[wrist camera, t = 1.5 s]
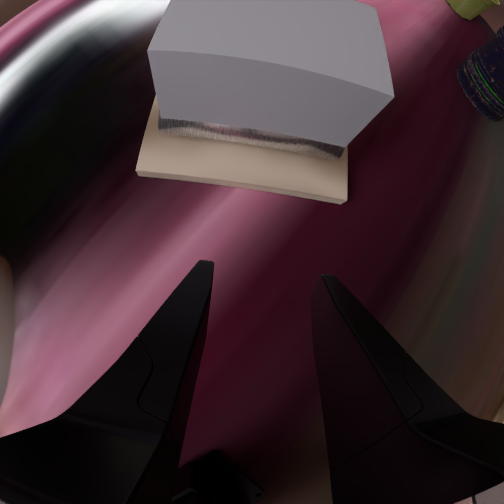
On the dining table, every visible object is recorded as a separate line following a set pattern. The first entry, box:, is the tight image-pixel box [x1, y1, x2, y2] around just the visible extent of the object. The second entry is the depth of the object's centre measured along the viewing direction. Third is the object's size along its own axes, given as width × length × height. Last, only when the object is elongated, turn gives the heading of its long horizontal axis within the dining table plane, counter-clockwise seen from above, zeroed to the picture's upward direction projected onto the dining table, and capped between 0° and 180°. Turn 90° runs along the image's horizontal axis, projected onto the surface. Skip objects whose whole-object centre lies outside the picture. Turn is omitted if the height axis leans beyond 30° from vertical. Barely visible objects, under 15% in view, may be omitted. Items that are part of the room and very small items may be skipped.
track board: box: [136, 96, 348, 204], centre depth 24 cm, size 21×16×1 cm
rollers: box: [158, 110, 345, 161], centre depth 22 cm, size 17×13×4 cm
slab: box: [147, 0, 394, 147], centre depth 16 cm, size 8×12×6 cm, turn 84°
